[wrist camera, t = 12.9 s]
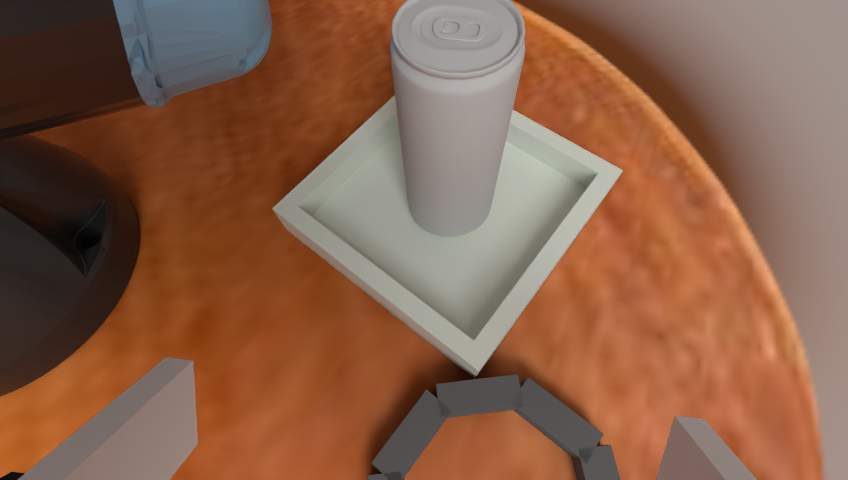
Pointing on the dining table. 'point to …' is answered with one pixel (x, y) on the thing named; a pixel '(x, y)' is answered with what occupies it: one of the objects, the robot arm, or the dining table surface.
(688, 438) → the robot arm
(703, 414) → the dining table surface
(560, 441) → the seat ring
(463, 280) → the tray
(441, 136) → the beverage can
